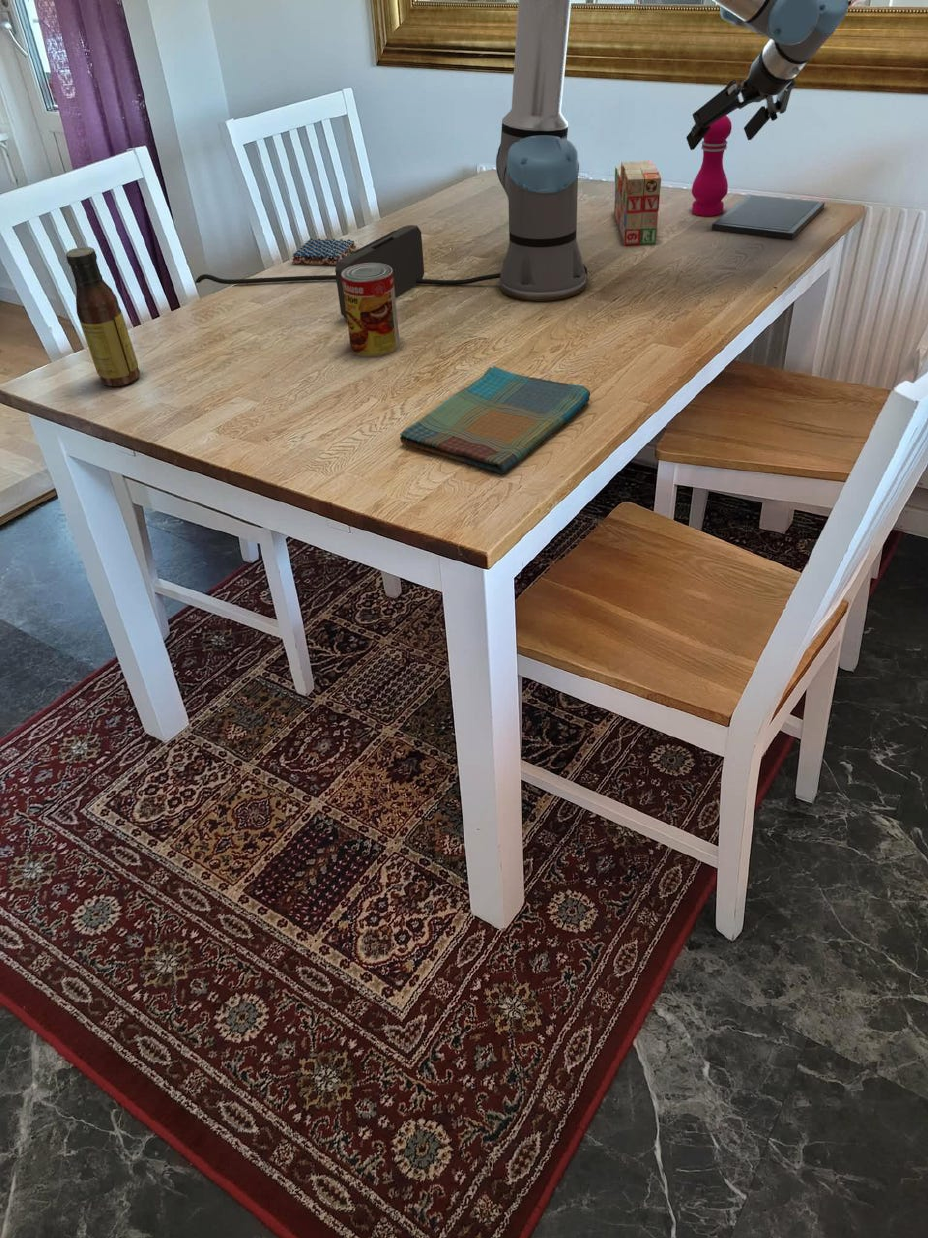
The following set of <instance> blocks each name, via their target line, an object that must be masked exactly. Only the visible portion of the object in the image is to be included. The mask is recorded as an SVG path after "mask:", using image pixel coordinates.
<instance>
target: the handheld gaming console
mask: <svg viewBox="0 0 928 1238" xmlns="http://www.w3.org/2000/svg"><path fill="white" fill-rule="evenodd" d="M364 263H381V264H386V265H388V266H390V267H391V268H392V270H393V279H394V290H395V298H397V297H398V296H400V295H401V294H403V293H404V292H407V291H408V290H410V289H411V288H413V287H415V286H416V285H418V284H417V283H416V280H417V279H424V275H425V265H424V249H423V237H422V230H421V229H420V228H419V226H418V225H416V224H415V225H414V224H409V225H408V224H407V225H404V226H402V227H400V228H398V229H396V230H393V231H391V232H389V233H387V234H385V235H383V236H381V237H379V238H377V239H376V240H373V241H372V242H370V243H367V244H366V245H364V246H362V247H360V248H358V249H355V251H354V252H351V253H350V255H348V256H346V257H344V258H343V259H341V260H340V261H339V262H337V265H336V266H335V269H334V270H335V271H334V273H335V275H336V280H335V281H336V286H337V287H336V288H337V294H338V295H337V296H338V301H339V302H338V303H339V310H340V314H341V315H342V317H343V318H344V319H345V320H347V315H346V307H345V299H344V291H343V284H342V276H341V273H342V271H343V270H345V269H346V268H348V267H350V266H353V265H358V264H364Z"/></svg>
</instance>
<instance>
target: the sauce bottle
mask: <svg viewBox="0 0 928 1238" xmlns="http://www.w3.org/2000/svg"><path fill="white" fill-rule="evenodd" d="M65 257H66V258H65V259H66V261H67V264H68V266H70V269H71V272H72V275H73V279H74V284H75V289H76V291H75V292H76V294H75V295H76V296H75V306H76V307H75V308H76V315H77V318H78V320H79V324H80V327H81V329H82V332H83V336H84V338H85V341H86V344H87V347H88V350H89V353H90V356H91V359H92V362H93V366H94V369H95V371H96V374H97V375H98V377H99V378H100V381H101V383H102V384H103V385H105V386H108V387H122V386H125V385H126V386H127V385H129V384H132V383H134V382H136V381H137V380H138V379H139V378H140V375H141V372H140V371H141V370H140V369H139V363H138V359H137V356H136V353H135V350H134V347H133V343H132V341H131V337H130V333H129V331H128V327H127V324H126V321H125V317H124V314H123V311H122V309H121V307H120V305H119V302H118V301H119V300H118V297H117V296H116V294H115V293H114V291H113V289H112V288H111V286H110V285H108V284H107V282H106V281H105V280H104V279H103V275H102V274H101V270H100V267H99V264H98V261H97V259H98V257H97V253H96V251H95V249H94V247H91V246H80V247H76V248H72V249H70V250H68V251H67V252H66V253H65Z"/></svg>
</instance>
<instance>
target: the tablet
mask: <svg viewBox="0 0 928 1238" xmlns="http://www.w3.org/2000/svg"><path fill="white" fill-rule="evenodd" d="M825 202H826V201H825ZM825 202H824V201H815V200H807V199H798V198H789V197H788V198H787V197H777V196H768V195H758V194H747V195H746V196H745V197H743V199H741V200H740V201H739V202H738V203H737V204H735V205H733V207H731V208H730V209H729V210H728V211H727V212H725V213H724V214H723V215H721V216H720V217H719V218H718V219H716V220H715V221H714V222H713V223H712V224H711V230H712V231H718V232H726V233H734V234H742V235H750V236H759V237H765V238H766V237H767V238H774V239H775V238H776V239H782V240H783V239H784V240H791V241H792V240H793V239H794V238H795V237H796V236H797V235H798V234H799V233H800V232H801V231H802V230H803V229H804V228H805V227H806V226H807V225H808V224H810V222H812V221H813V219H814V218H815V217H816V216H817V215H819V214H820V213H821V211H823V210H824V209H825Z"/></svg>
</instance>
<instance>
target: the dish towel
mask: <svg viewBox="0 0 928 1238" xmlns="http://www.w3.org/2000/svg"><path fill="white" fill-rule="evenodd" d="M590 396H591V391H590V390H589V388H587V387H586V386H584V385H582V384H581V385H580V384H573V383H565V382H558V381H552V380H547V379H543V378H537V377H529V376H524V375H522V374H516V373H513V372H510V371H508V370H504V369H503V368H499V367H497V366H495V365H493V366H492V367H491V366H489V367H488V368H487V370H486V371H485V372H484V374H483V375H482V376H481V377H480V378H478V379H476V380H475V381H474V382H473V383H471V384H470V385H467V386H466V387H464V388H463V389H461V390H460V391H458V392H457V393H455V394H453V395H452V396H451V397H450V398H448V399H446V400H445V401H443V403H441V404H440V405H439V406H437V407H436V408H435V409H433V410H432V411H430V412H429V413H427V414H425V416H423V417H422V418H420V419H419V420H417V421H415V423H413V424H411V425H409V426H408V427H405V429H404V430H403V431H402V432H400V437H399V441H400V443H402V444H404V445H407V446H411V447H414V448H418V449H420V450H423V451H425V452H426V451H427V452H430V453H434V454H437V455H440V456H443V457H445V458H449V459H453V460H455V461H459V462H462V463H466V464H467V465H471V466H474V467H478V468H481V469H485V471H486V470H487V471H491V472H495V473H498V474H505V473H506V472H507V471H509V470H510V469H511V468H513V467H514V466H515V465H516V464H518V463H519V462H520V461H521V460H522V459H524V458H526V456H527V455H528V454H529V453H531V452H532V451H533V450H534V449H535V448H536V447H537V446H539V445H540V444H541V443H542V442H544V440H545V439H548V437H549V436H551V435H552V434H553V433H555V432H556V431H557V430H558V429H559V428H560V427H562V426H564V424H566V422H568V421H569V420H571V418H572V417H573V416H575V415H576V414H577V413H578V412H579V411H580V410H581V409H582V408H583V407H584V406H585V405H586V404H587V403H589V401H590V399H591V398H590Z"/></svg>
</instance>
